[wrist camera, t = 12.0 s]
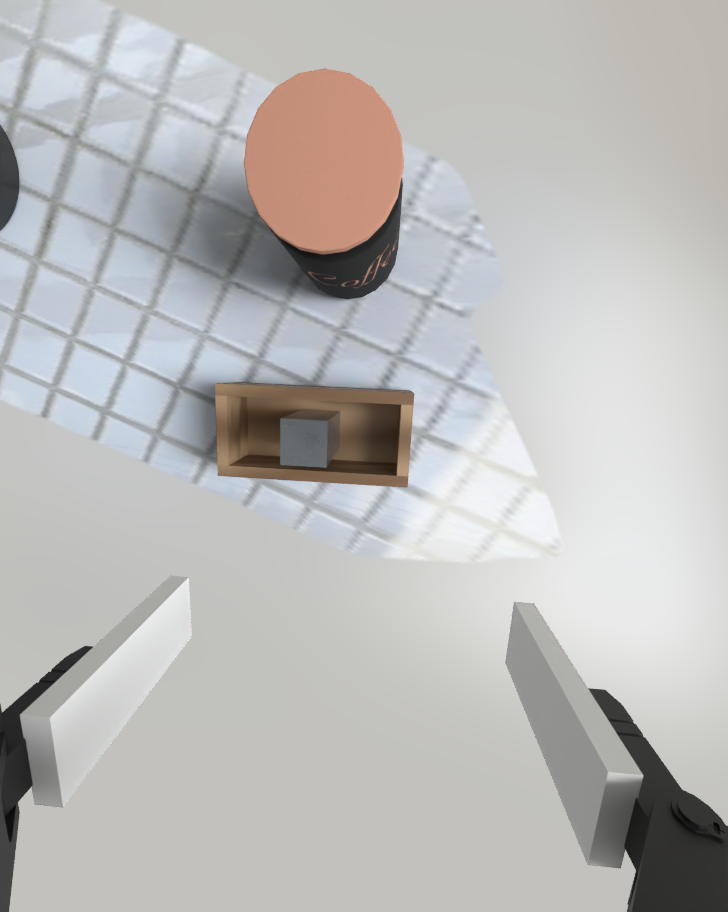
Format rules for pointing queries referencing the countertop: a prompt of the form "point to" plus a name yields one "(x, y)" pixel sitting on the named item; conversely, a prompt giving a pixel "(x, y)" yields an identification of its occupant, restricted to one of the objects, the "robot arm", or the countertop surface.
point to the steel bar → (309, 438)
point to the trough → (362, 410)
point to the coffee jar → (329, 178)
